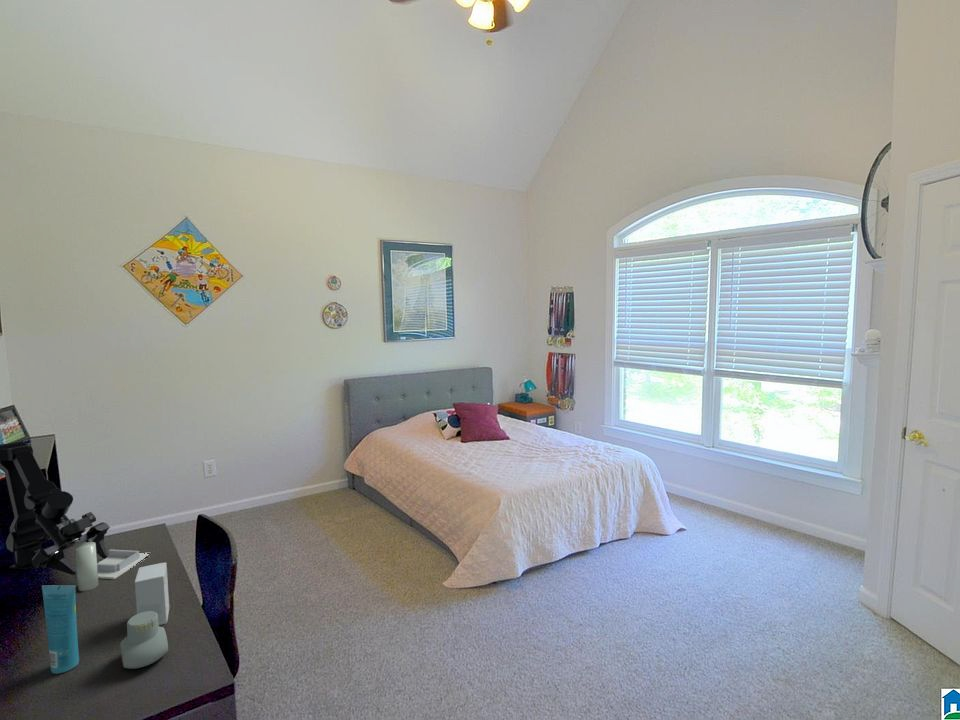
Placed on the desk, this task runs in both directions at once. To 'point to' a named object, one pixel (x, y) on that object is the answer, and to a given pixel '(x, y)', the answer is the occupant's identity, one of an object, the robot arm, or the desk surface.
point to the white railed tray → (118, 563)
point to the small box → (153, 591)
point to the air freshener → (143, 641)
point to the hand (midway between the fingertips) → (90, 565)
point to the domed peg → (86, 566)
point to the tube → (61, 626)
